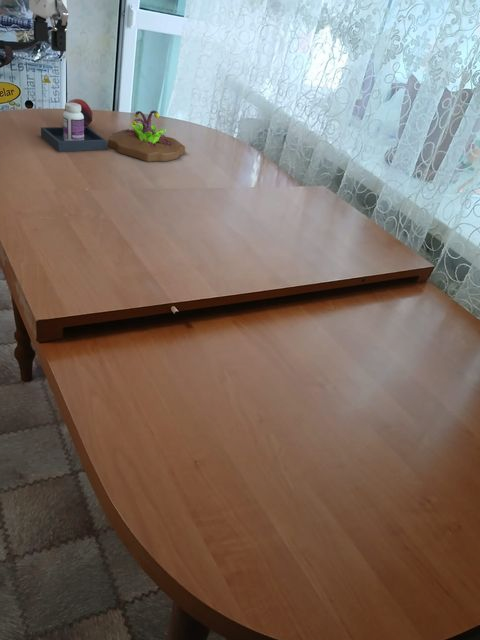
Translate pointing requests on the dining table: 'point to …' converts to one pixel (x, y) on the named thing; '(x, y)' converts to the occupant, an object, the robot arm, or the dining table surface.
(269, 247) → the dining table surface
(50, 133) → the tray
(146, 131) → the plant
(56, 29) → the robot arm
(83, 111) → the fruit
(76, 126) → the pill bottle
